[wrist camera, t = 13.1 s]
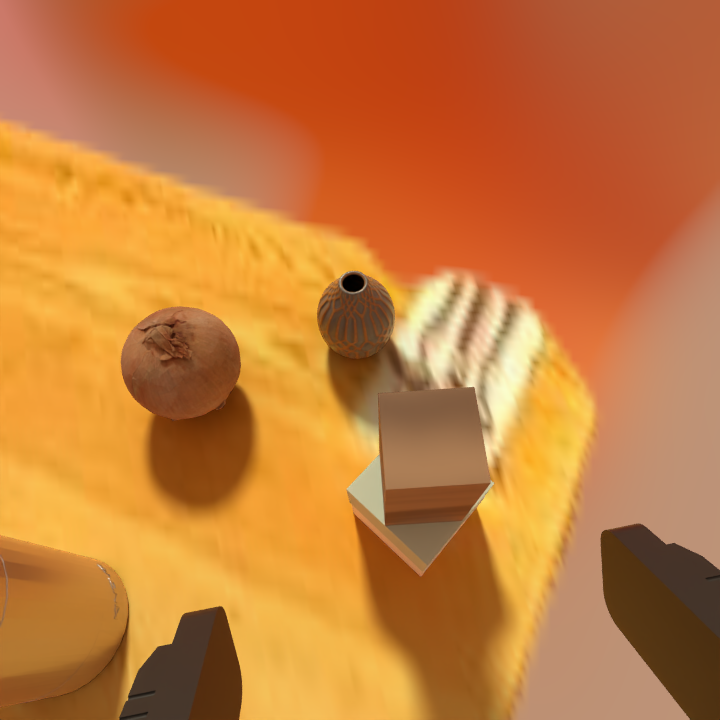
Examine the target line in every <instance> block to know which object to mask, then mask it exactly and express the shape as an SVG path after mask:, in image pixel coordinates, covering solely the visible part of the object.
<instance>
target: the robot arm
mask: <svg viewBox="0 0 720 720" xmlns="http://www.w3.org/2000/svg"><path fill="white" fill-rule="evenodd" d="M601 556H602V574H603V591H604V598H605V602H606V605H607V608H608V611H609V613H610V615H611V617H612V619H613V621H614V622H615V624H616V625H617V627H618V628H619V629H620V631H621V632H622V633H623V634H624V636H625V637H626V638H627V639H628V641H629V642H630V643H631V645H632V646H633V647H634V648H635V650H636V651H637V652H638V654H639V655H640V656H641V657H642V659H643V660H644V661H645V662H646V664H647V665H648V666H649V667H650V669H651V670H652V671H653V673H654V674H655V675H656V676H657V678H658V679H659V680H660V681H661V683H662V684H663V685H664V687H666V689H667V690H668V692H669V693H670V694H671V695H672V697H673V698H674V699H675V700H676V702H677V703H678V704H679V706H680V707H681V708H682V709H683V711H684V712H685V713H686V715H687V716H688V717H689V718H690V720H720V570H719V569H717V568H716V567H715V566H714V565H713V564H711V563H710V562H709V561H707V560H706V559H705V558H704V557H703V556H701V555H699V554H697V553H694V552H692V551H690V550H688V549H686V548H683V547H682V546H679V545H677V544H675V543H672V544H667V545H666V544H665V543H664V542H663V541H661V540H660V539H659V538H658V537H657V536H656V535H654V534H653V533H652V532H651V531H650V530H649V529H648V528H646V527H645V526H644V525H641V524H634V525H628V526H624V527H619V528H614V529H609V530H604V531H603V532H602V534H601ZM127 618H128V600H127V595H126V590H125V587H124V585H123V583H122V581H121V579H120V577H119V576H118V575H117V574H116V572H115V571H114V570H113V569H112V568H111V567H109V566H108V565H106V564H105V563H103V562H101V561H98V560H95V559H92V558H88V557H84V556H80V555H76V554H72V553H69V552H65V551H61V550H57V549H53V548H49V547H45V546H41V545H37V544H33V543H29V542H25V541H21V540H17V539H13V538H9V537H5V536H1V535H0V707H4V706H9V705H14V704H19V703H25V702H31V701H36V700H41V699H46V698H51V697H56V696H61V695H64V694H67V693H70V692H73V691H75V690H77V689H79V688H81V687H82V686H84V685H86V684H87V683H89V682H90V681H91V680H92V679H94V678H95V677H96V676H97V675H98V674H99V673H100V672H102V670H103V669H104V668H105V667H106V665H107V664H108V663H109V662H110V661H111V659H112V658H113V656H114V654H115V652H116V651H117V649H118V647H119V645H120V643H121V640H122V638H123V635H124V632H125V629H126V624H127ZM241 703H242V677H241V670H240V665H239V661H238V658H237V654H236V650H235V646H234V643H233V639H232V635H231V631H230V628H229V624H228V620H227V616H226V613H225V611H224V609H223V607H221V606H219V607H214V608H209V609H204V610H199V611H194V612H189V613H185V614H183V616H182V617H181V620H180V623H179V626H178V628H177V631H176V634H175V637H174V640H173V643H172V644H169V645H164V646H159V647H157V648H156V650H155V651H154V652H153V653H152V655H151V656H150V657H149V658H148V659H147V661H146V662H145V663H144V664H143V666H142V667H141V668H140V669H139V670H138V673H137V675H136V678H135V680H134V683H133V685H132V688H131V690H130V693H129V695H128V701H126V703H125V705H124V707H123V710H122V712H121V715H120V717H119V718H120V720H239V716H240V709H241Z"/></svg>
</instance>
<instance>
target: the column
mask: <svg viewBox="0 0 720 720" xmlns="http://www.w3.org/2000/svg"><path fill="white" fill-rule="evenodd" d="M378 406H379V453H380V466H381V480H382V493H383V507H384V520H385V526H390V525H406V524H421V523H437V522H453V521H462V520H463V519H464V518H465V516H466V515H467V514H468V512H469V511H470V510H471V508H472V507H473V506H474V504H475V503H476V502H477V501H478V499H479V498H480V497H481V495H482V494H483V493H484V491H485V490H486V489H487V487H488V486H489V485H490V483H491V481H490V475H489V469H488V463H487V457H486V452H485V446H484V440H483V434H482V429H481V423H480V417H479V411H478V405H477V400H476V394H475V388H474V387H467V388H452V389H437V390H422V391H407V392H392V393H378Z"/></svg>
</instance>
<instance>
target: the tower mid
mask: <svg viewBox="0 0 720 720" xmlns="http://www.w3.org/2000/svg"><path fill="white" fill-rule="evenodd" d="M490 481H491V480H490ZM493 484H494V483H493V482H492V481H491V483H490V485H489V486H488V487H487V489H486V490H485V491H484V493H483V494H482V495H481V497H480V498H479V499H478V501H477V502H476V503H475V504H474V506H473V507H472V508H471V510H470V511H469V512H468V514H467V515H466V516H465V518H464V519H463V520H462V521H453V522H437V523H421V524H406V525H390V526H385V520H384V507H383V493H382V480H381V466H380V454H379V455H378V456H377V457H376V458H375V460H374V461H373V462H372V463H371V464H370V465H369V466H368V467H367V468H366V469H365V470H364V471H363V472H362V473H361V474H360V476H359V477H358V478H357V479H356V480H355V481H354V482H353V483H352V484H351V485H350V486H349V487H348V488H347V493H348V497H349V501H350V503H351V504H352V505H353V506H354V507H355V508H356V509H357V510H358V511H359V512H360V513H361V514H362V515H363V516H364V517H365V518H367V519H368V520H369V521H370V522H371V523H372V524H373V525H374V526H375V527H376V528H377V529H378V530H379V531H380V532H381V533H382V534H383V535H384V536H385V537H386V538H388V539H389V540H390V541H391V542H392V543H393V544H394V545H395V546H396V547H397V548H398V549H399V550H400V551H401V552H402V553H403V554H404V555H405V556H406V557H407V558H409V559H410V560H411V561H412V562H413V563H414V564H415V565H416V566H417V567H418V568H419V569H420V570H421V571H422V572H423V571H424V570H425V568H426V567H427V566H428V565H429V563H430V562H431V561H432V560H433V559H434V557H435V556H436V555H437V554H438V552H439V551H440V550H441V549H442V548H443V546H444V545H445V544H446V543H447V541H448V540H449V539H450V538H451V537H452V535H453V534H454V533H455V532H456V530H457V529H458V528H459V527H460V526H461V524H462V523H463V522H464V521H465V519H466V518H467V517H468V516H469V515H470V513H471V512H472V511H473V510H474V508H475V507H476V506H477V505H478V504H479V502H480V501H481V500H482V499H483V497H484V496H485V495H486V494H487V492H488V491H489V490H490V488H491V487H492V486H493Z"/></svg>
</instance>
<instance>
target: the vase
mask: <svg viewBox="0 0 720 720" xmlns="http://www.w3.org/2000/svg"><path fill="white" fill-rule="evenodd" d="M317 320H318V326H319V330H320V332H321V335H322V337H323V339H324V340H325V342H326V343H327V345H328V346H329V347H330V348H331V349H332V350H334V351H335V352H336V353H338V354H340V355H342V356H344V357H348V358H354V359H360V358H365V357H369V356H371V355H373V354H375V353H377V352H378V351H379V350H381V349H382V348H383V347H384V346H385V344H386V343H387V342H388V340H389V338H390V336H391V334H392V332H393V328H394V322H395V311H394V306H393V302H392V300H391V297H390V295H389V294H388V292H387V291H386V289H385V288H384V287H383V286H382V285H381V284H380V283H379V282H378V281H376V280H375V279H373V278H371V277H369V276H366V275H364V274H363V273H361V272H358V271H349V272H347V273H345V274H343V275H342V276H341V277H340V278H338V279H336V280H335V281H333V282H332V283H331V284H330V285H329V286H328V287H327V288H326V290H325V291H324V293H323V294H322V297H321V299H320V302H319V305H318V311H317Z"/></svg>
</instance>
